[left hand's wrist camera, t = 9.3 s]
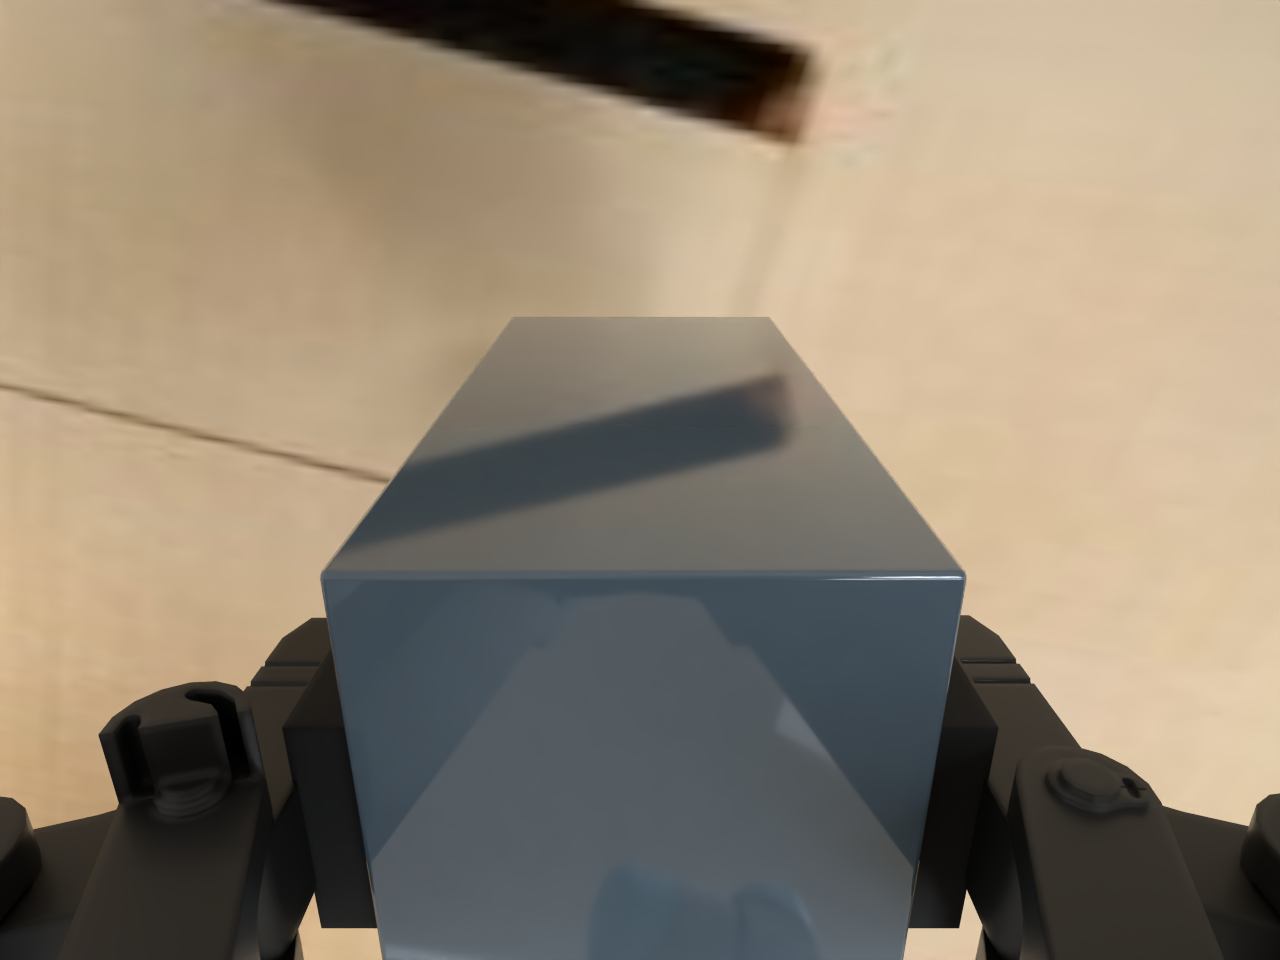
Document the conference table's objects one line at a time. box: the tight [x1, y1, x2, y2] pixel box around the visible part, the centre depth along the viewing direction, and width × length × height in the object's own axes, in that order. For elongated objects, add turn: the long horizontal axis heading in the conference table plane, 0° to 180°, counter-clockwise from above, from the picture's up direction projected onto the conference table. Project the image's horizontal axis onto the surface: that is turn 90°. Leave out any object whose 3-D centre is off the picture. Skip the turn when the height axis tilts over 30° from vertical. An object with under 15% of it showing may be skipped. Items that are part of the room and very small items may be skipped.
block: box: [320, 317, 967, 960], centre depth 13 cm, size 7×6×11 cm
